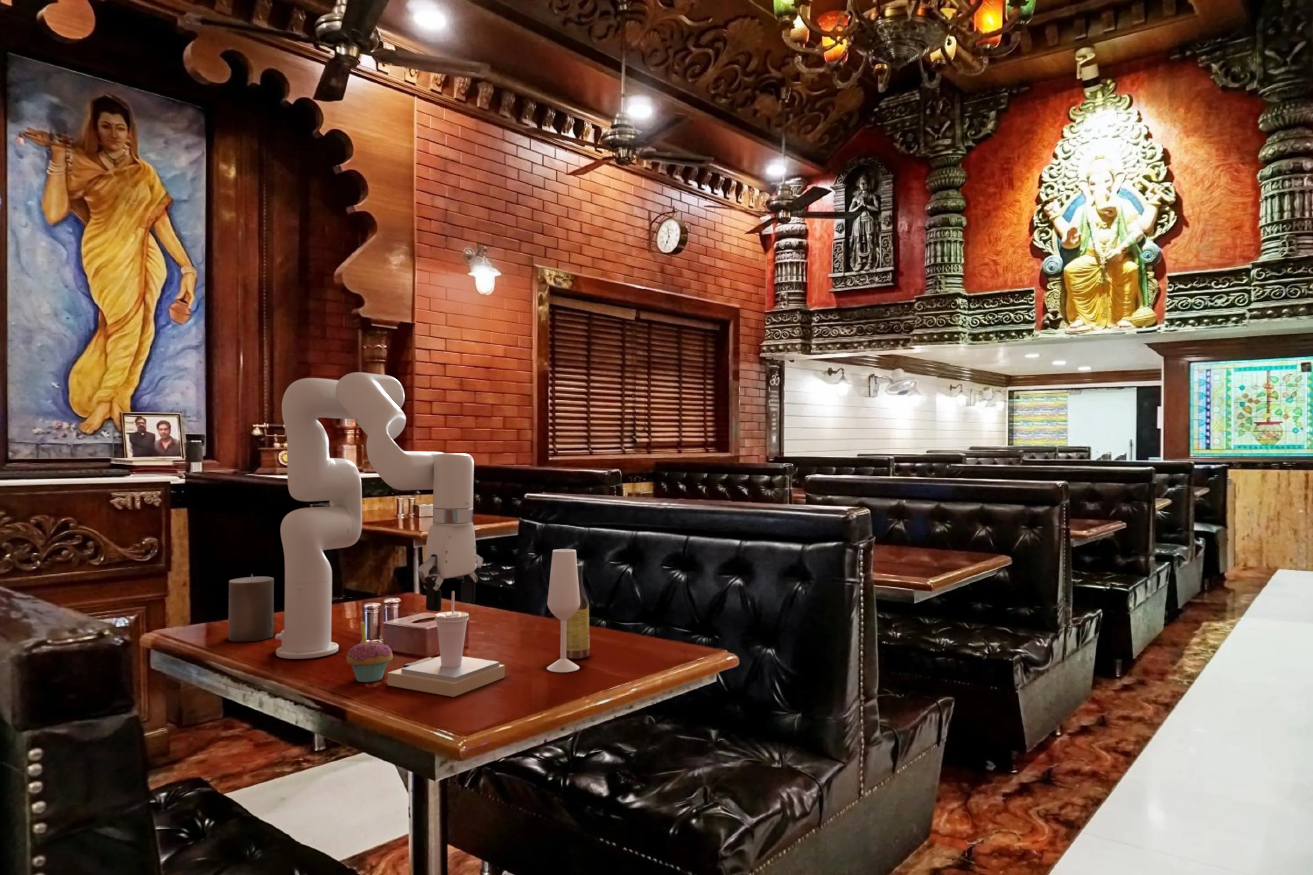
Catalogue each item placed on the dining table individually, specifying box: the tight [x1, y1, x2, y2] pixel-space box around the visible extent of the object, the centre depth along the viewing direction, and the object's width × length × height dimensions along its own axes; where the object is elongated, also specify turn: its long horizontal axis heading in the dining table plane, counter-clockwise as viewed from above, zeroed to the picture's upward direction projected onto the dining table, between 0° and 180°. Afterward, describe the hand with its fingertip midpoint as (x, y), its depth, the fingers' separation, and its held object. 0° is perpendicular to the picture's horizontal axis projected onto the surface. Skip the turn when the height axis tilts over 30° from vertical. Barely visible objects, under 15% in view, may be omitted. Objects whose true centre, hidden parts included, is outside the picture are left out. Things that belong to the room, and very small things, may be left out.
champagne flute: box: [546, 548, 580, 673], centre depth 170 cm, size 7×7×24 cm
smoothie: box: [434, 590, 470, 668], centre depth 159 cm, size 6×6×14 cm
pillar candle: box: [227, 573, 275, 643], centre depth 196 cm, size 10×10×15 cm
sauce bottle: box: [559, 563, 591, 660], centre depth 180 cm, size 7×6×20 cm
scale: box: [386, 655, 506, 698], centre depth 159 cm, size 16×15×3 cm
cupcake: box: [346, 617, 394, 683], centre depth 161 cm, size 9×8×12 cm
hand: (451, 606), depth 159 cm, fingers open, 9 cm apart
